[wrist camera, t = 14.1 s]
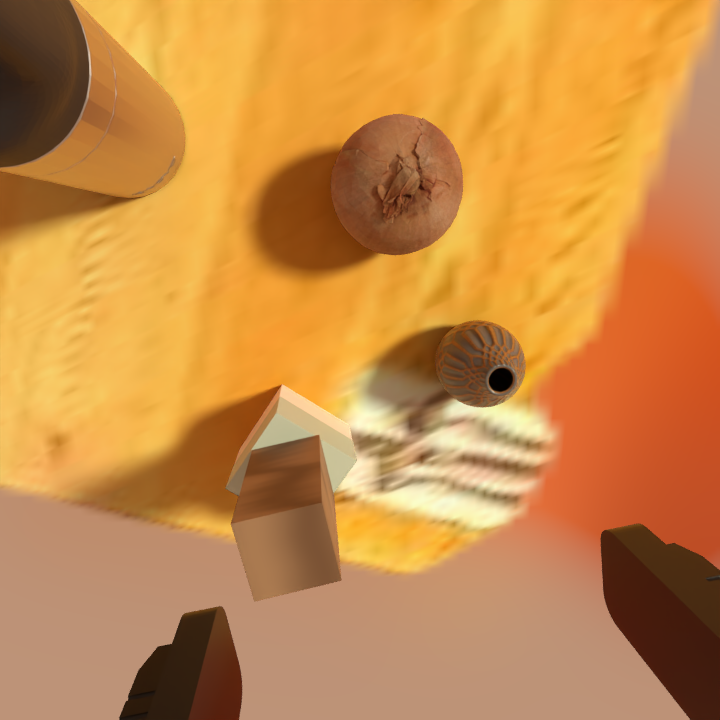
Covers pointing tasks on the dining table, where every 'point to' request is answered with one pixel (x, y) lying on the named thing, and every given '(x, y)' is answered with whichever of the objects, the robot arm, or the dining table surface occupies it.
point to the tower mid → (293, 425)
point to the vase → (480, 363)
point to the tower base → (303, 405)
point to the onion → (397, 184)
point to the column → (287, 520)
